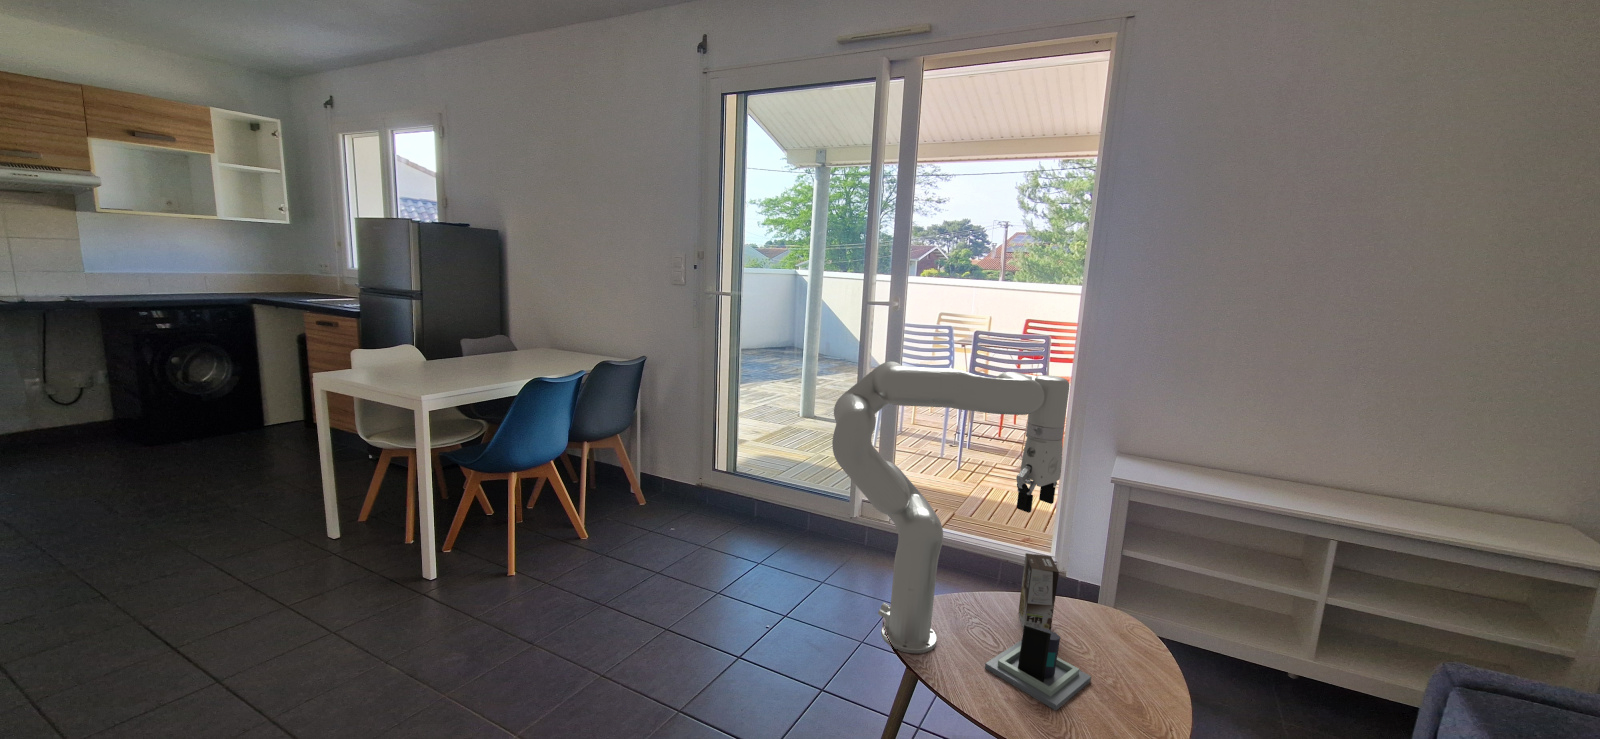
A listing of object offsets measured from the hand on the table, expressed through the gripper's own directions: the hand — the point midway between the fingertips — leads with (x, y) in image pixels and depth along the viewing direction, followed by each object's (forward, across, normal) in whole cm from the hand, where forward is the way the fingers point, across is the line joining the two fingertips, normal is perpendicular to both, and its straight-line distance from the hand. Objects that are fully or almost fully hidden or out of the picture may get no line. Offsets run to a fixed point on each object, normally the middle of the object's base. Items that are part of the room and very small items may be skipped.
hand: (1035, 506), depth 138 cm
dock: (+33, -8, -9) cm, 35 cm away
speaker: (+32, -8, -9) cm, 34 cm away
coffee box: (+34, +11, +2) cm, 35 cm away
